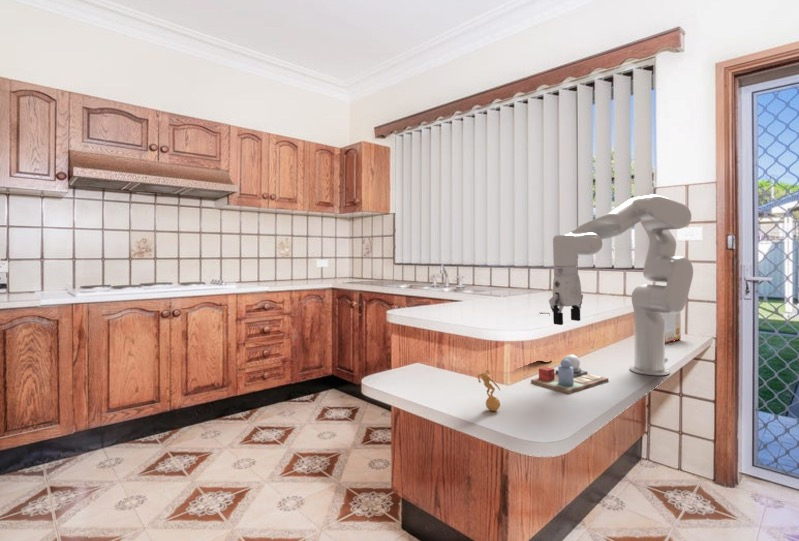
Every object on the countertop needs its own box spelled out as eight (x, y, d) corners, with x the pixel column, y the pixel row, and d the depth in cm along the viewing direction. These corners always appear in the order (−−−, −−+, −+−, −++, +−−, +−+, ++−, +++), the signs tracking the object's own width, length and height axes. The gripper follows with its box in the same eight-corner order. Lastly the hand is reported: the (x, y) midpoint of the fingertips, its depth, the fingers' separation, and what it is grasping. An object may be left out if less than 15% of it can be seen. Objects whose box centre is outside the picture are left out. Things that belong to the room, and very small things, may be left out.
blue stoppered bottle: (576, 384, 140) (576, 359, 140) (567, 387, 137) (567, 361, 137) (564, 381, 144) (564, 356, 143) (555, 383, 141) (555, 358, 141)
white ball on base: (568, 366, 157) (568, 351, 157) (585, 370, 151) (585, 355, 151) (557, 369, 153) (557, 354, 153) (573, 373, 148) (573, 357, 148)
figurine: (508, 413, 119) (508, 370, 118) (492, 418, 116) (492, 374, 115) (488, 404, 126) (487, 364, 125) (472, 409, 123) (471, 367, 122)
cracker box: (668, 338, 213) (668, 296, 213) (681, 340, 208) (681, 297, 207) (651, 341, 207) (652, 298, 206) (664, 343, 201) (665, 299, 200)
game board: (570, 371, 158) (570, 359, 158) (608, 381, 146) (608, 367, 146) (530, 382, 146) (530, 369, 146) (568, 394, 134) (568, 379, 134)
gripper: (559, 273, 135) (561, 327, 136) (591, 269, 145) (592, 320, 146) (539, 273, 141) (541, 324, 142) (571, 269, 151) (572, 317, 152)
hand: (567, 322), depth 144 cm, fingers open, 9 cm apart
